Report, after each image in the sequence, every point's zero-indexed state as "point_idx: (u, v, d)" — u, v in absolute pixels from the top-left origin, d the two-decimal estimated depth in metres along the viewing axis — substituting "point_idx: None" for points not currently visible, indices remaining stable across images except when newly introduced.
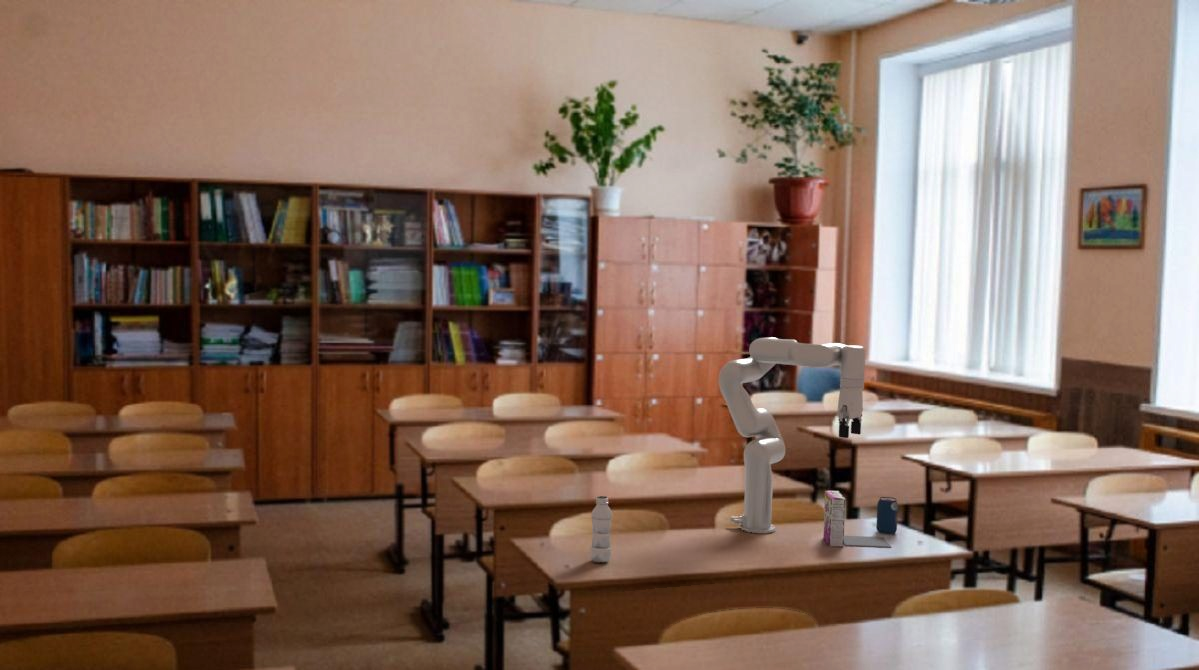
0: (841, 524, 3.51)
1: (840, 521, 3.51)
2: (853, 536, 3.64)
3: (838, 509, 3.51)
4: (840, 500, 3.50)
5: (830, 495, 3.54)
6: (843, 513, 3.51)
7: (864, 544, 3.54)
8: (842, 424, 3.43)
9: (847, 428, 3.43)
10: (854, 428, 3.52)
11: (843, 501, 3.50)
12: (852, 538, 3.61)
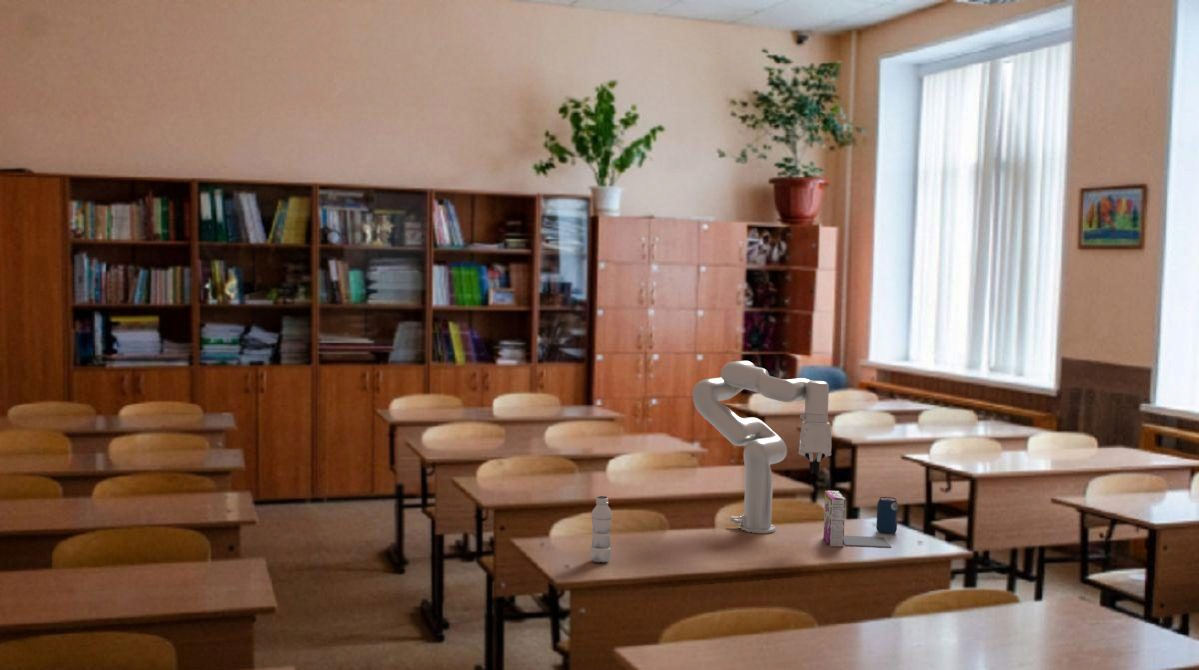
0: (841, 524, 3.51)
1: (840, 521, 3.51)
2: (853, 536, 3.64)
3: (838, 509, 3.51)
4: (840, 500, 3.50)
5: (830, 495, 3.54)
6: (843, 513, 3.51)
7: (864, 544, 3.54)
8: None
9: None
10: None
11: (843, 501, 3.50)
12: (852, 538, 3.61)
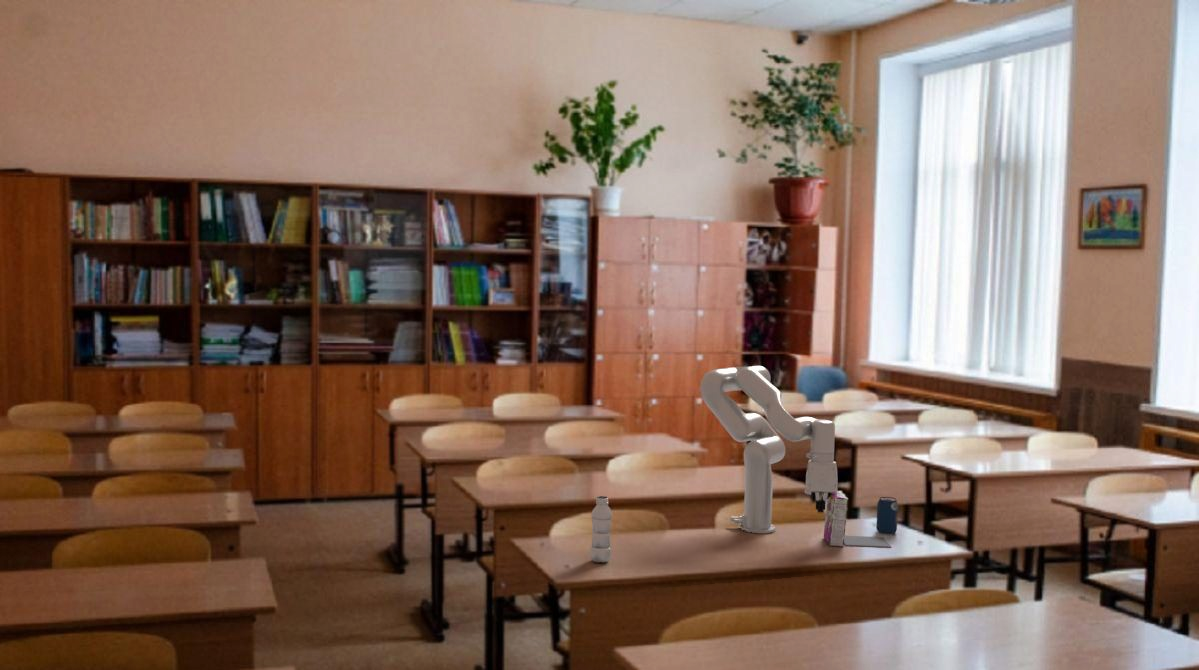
0: (842, 524, 3.51)
1: (841, 520, 3.51)
2: (853, 536, 3.64)
3: (840, 509, 3.50)
4: (843, 500, 3.50)
5: (833, 494, 3.54)
6: (845, 513, 3.51)
7: (864, 544, 3.54)
8: None
9: None
10: None
11: (846, 501, 3.50)
12: (852, 538, 3.61)
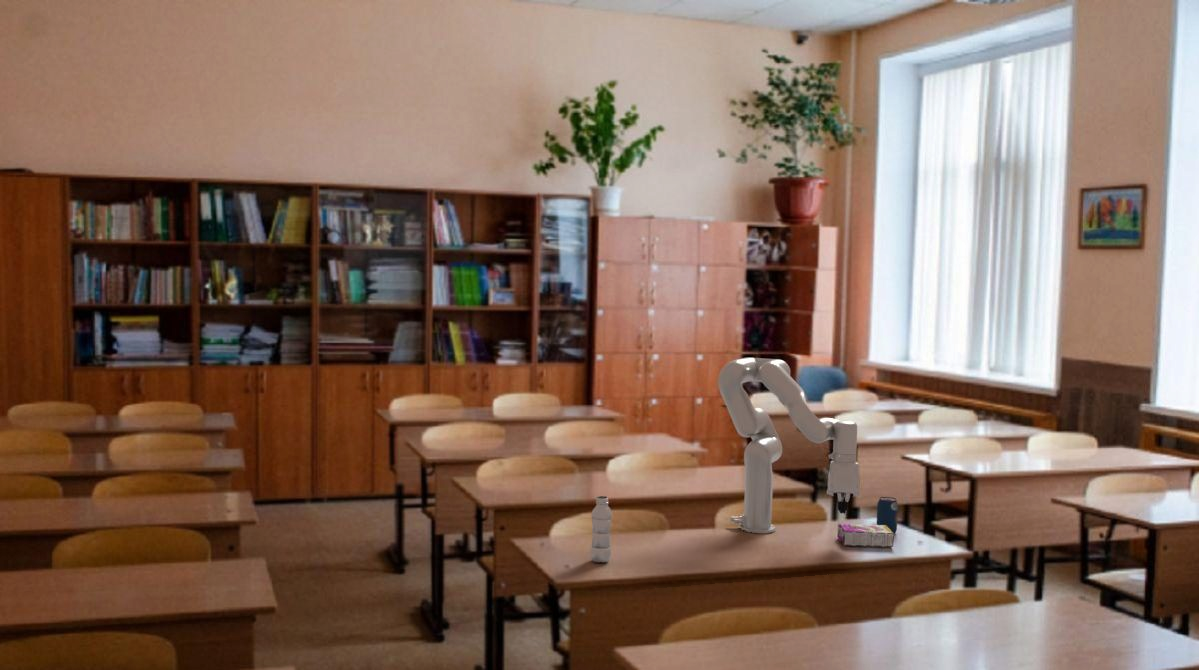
0: (867, 543, 3.51)
1: (870, 542, 3.51)
2: None
3: (882, 540, 3.51)
4: (891, 542, 3.51)
5: None
6: (878, 545, 3.51)
7: None
8: None
9: None
10: None
11: (890, 545, 3.51)
12: None
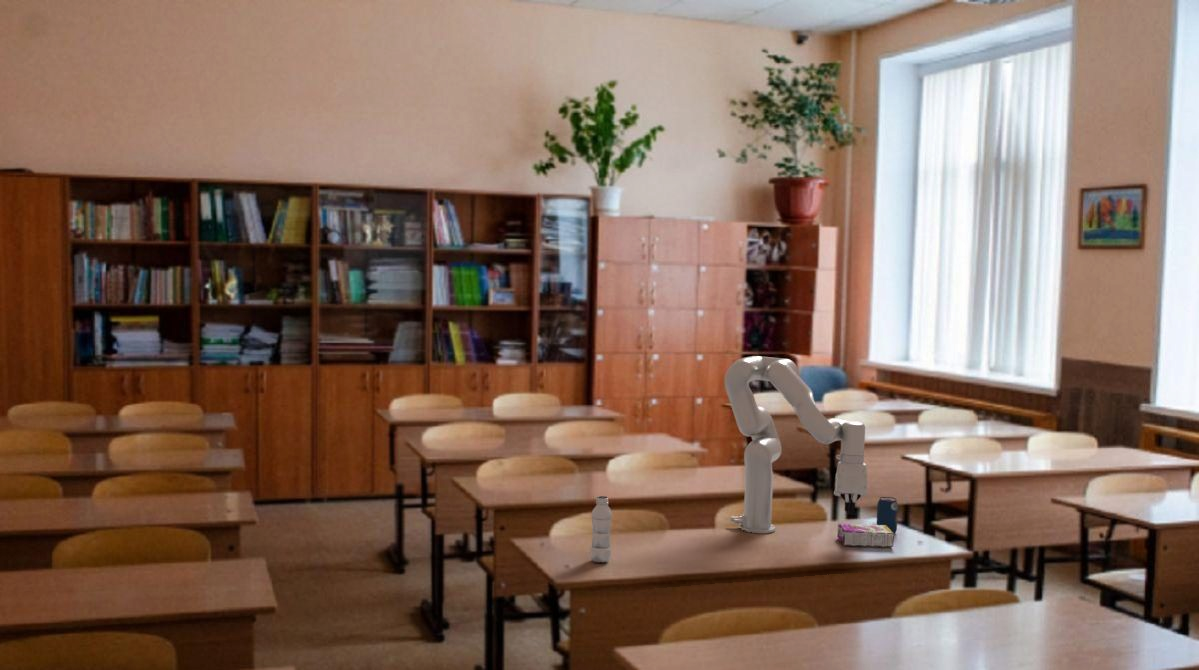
0: (867, 543, 3.51)
1: (870, 542, 3.51)
2: None
3: (882, 540, 3.51)
4: (891, 542, 3.51)
5: None
6: (878, 545, 3.51)
7: None
8: None
9: None
10: None
11: (890, 545, 3.51)
12: None
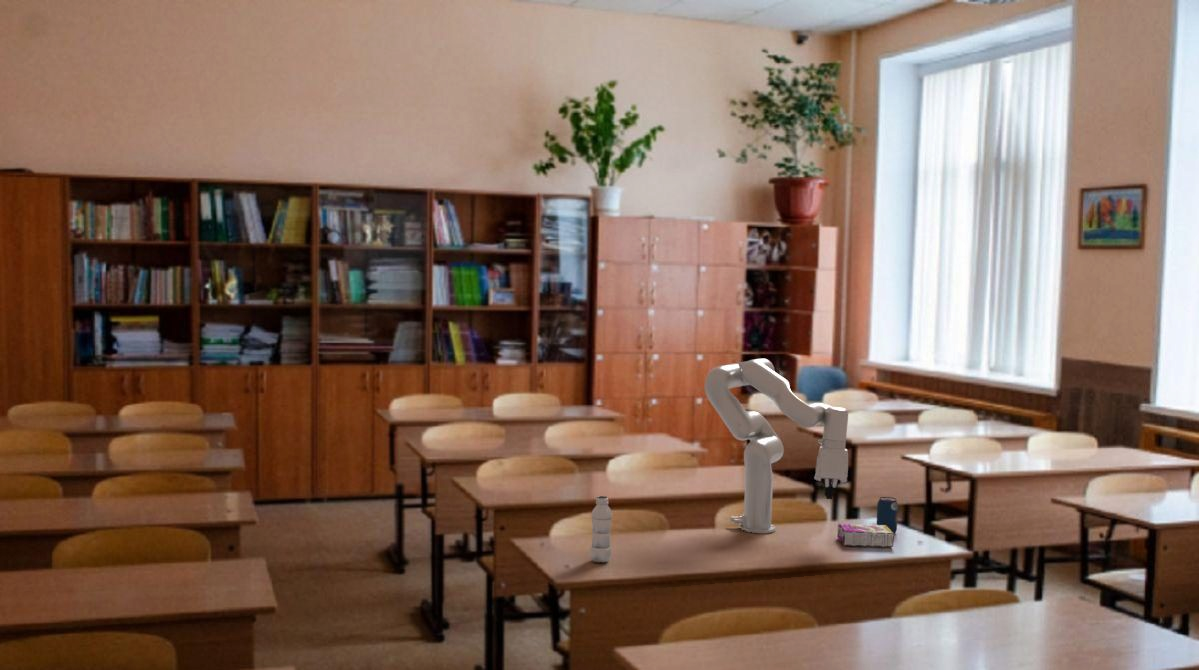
0: (867, 543, 3.51)
1: (870, 542, 3.51)
2: None
3: (882, 540, 3.51)
4: (891, 542, 3.51)
5: None
6: (878, 545, 3.51)
7: None
8: None
9: None
10: None
11: (890, 545, 3.51)
12: None
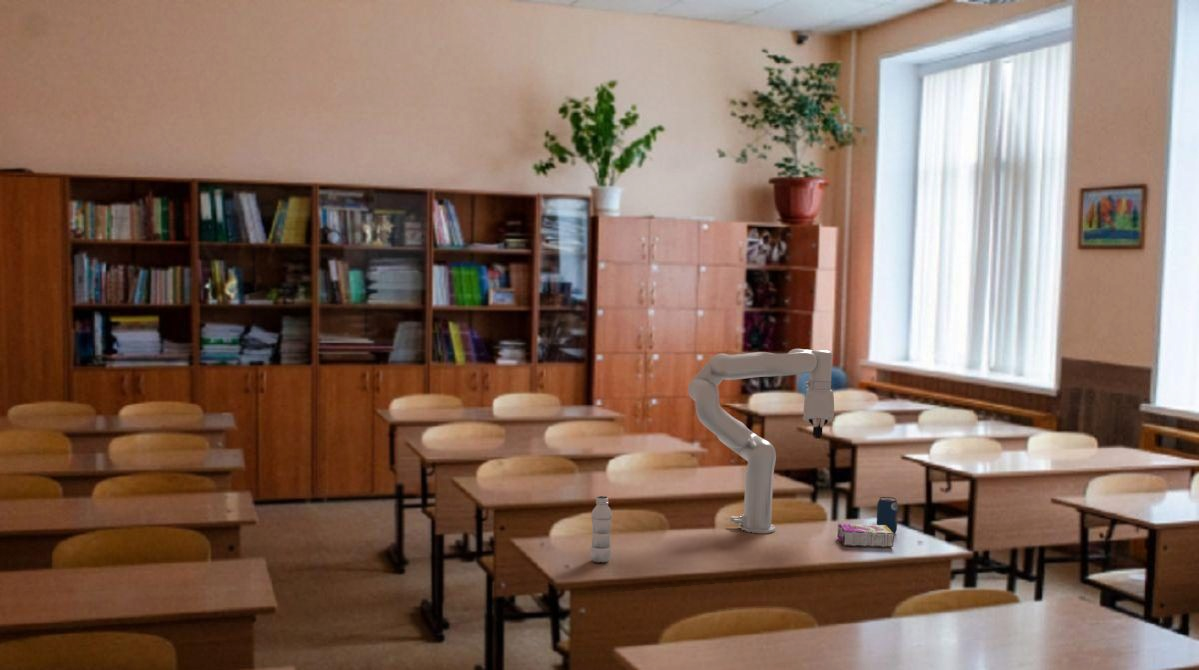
0: (867, 543, 3.51)
1: (870, 542, 3.51)
2: None
3: (882, 540, 3.51)
4: (891, 542, 3.51)
5: None
6: (878, 545, 3.51)
7: None
8: None
9: None
10: None
11: (890, 545, 3.51)
12: None
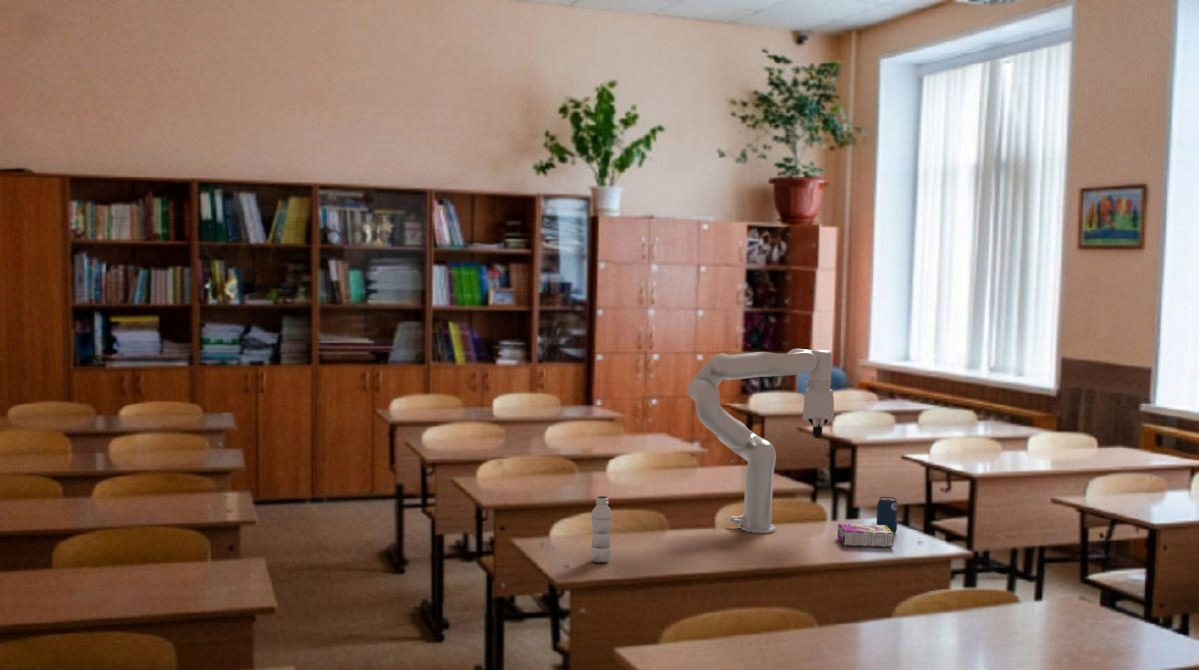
0: (867, 543, 3.51)
1: (870, 542, 3.51)
2: None
3: (882, 540, 3.51)
4: (891, 542, 3.51)
5: None
6: (878, 545, 3.51)
7: None
8: None
9: None
10: None
11: (890, 545, 3.51)
12: None
